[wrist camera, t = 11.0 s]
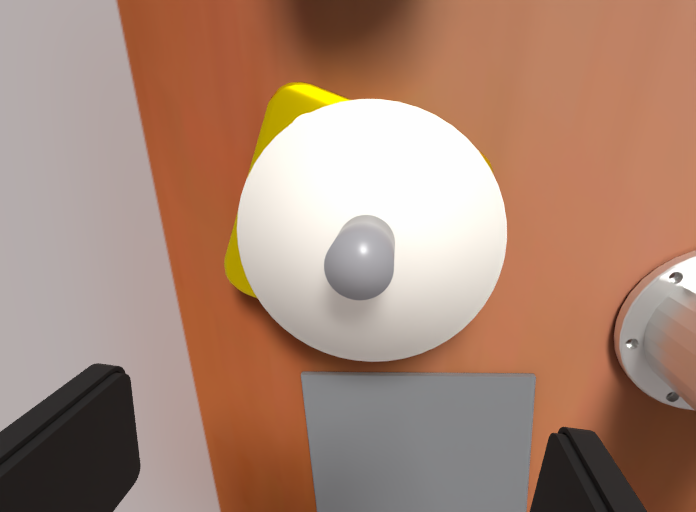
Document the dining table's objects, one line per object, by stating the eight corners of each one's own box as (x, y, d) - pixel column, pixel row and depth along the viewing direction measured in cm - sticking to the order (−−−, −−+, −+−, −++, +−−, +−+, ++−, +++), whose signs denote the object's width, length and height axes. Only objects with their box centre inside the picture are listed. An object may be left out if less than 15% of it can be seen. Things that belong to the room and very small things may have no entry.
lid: (496, 357, 27) (521, 414, 22) (257, 353, 29) (224, 403, 24) (511, 89, 22) (548, 74, 17) (225, 109, 25) (174, 102, 19)
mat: (521, 551, 37) (523, 557, 37) (321, 538, 40) (320, 543, 39) (533, 373, 32) (535, 377, 31) (302, 371, 34) (300, 374, 34)
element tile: (238, 265, 33) (212, 286, 28) (293, 79, 28) (273, 68, 24) (408, 332, 33) (409, 364, 28) (491, 156, 28) (509, 160, 23)
